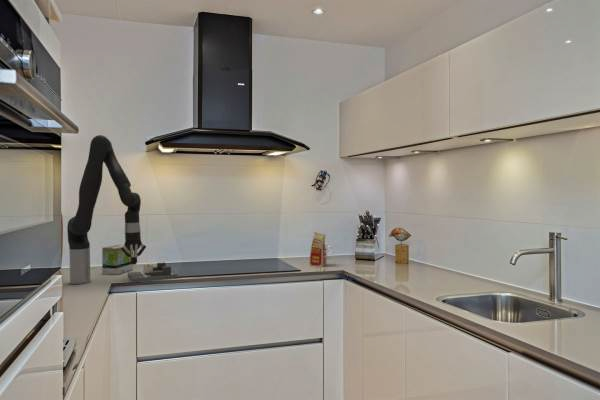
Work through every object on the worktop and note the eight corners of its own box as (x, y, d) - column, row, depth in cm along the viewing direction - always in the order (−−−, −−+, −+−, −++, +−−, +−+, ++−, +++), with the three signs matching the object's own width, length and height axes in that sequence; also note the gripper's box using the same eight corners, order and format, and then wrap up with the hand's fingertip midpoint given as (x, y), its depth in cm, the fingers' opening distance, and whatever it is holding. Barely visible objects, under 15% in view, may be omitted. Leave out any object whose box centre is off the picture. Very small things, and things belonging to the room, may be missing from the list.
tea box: (118, 274, 246) (117, 247, 246) (101, 274, 248) (101, 247, 248) (133, 269, 261) (133, 244, 260) (118, 269, 263) (117, 243, 262)
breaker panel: (133, 282, 226) (132, 270, 226) (127, 276, 242) (127, 265, 241) (177, 278, 236) (177, 266, 236) (169, 272, 252) (169, 261, 252)
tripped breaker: (144, 274, 236) (144, 265, 235) (143, 273, 238) (143, 264, 238) (152, 273, 237) (152, 264, 237) (151, 272, 240) (151, 263, 240)
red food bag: (309, 266, 267) (308, 232, 266) (313, 263, 275) (313, 231, 275) (324, 267, 264) (323, 233, 263) (328, 264, 272) (328, 231, 272)
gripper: (144, 229, 241) (145, 261, 242) (117, 231, 234) (119, 264, 235) (147, 230, 234) (148, 263, 235) (120, 232, 228) (121, 267, 228)
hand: (134, 264), depth 235 cm, fingers closed
